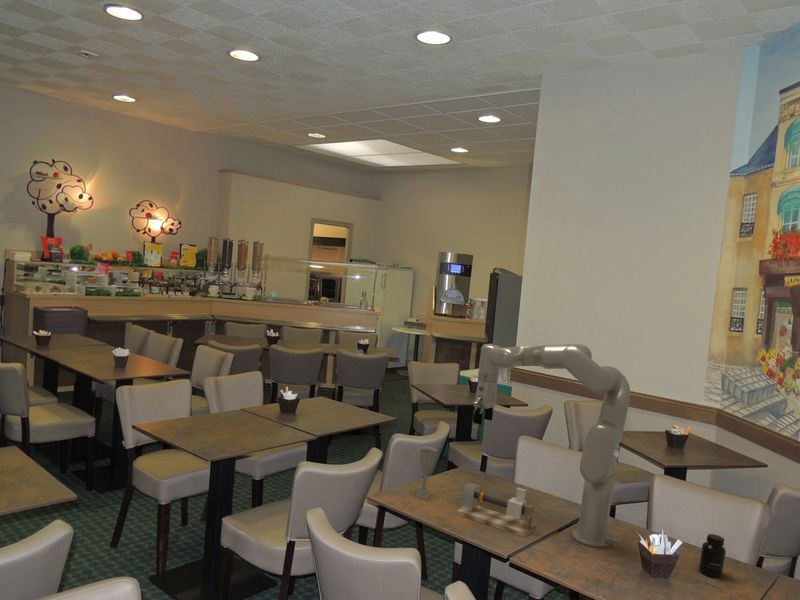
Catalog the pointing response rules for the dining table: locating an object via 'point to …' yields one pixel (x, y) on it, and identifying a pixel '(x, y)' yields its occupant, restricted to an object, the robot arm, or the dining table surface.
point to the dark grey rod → (495, 501)
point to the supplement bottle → (712, 556)
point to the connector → (471, 497)
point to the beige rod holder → (502, 519)
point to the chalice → (426, 467)
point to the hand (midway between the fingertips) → (482, 421)
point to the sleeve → (516, 504)
